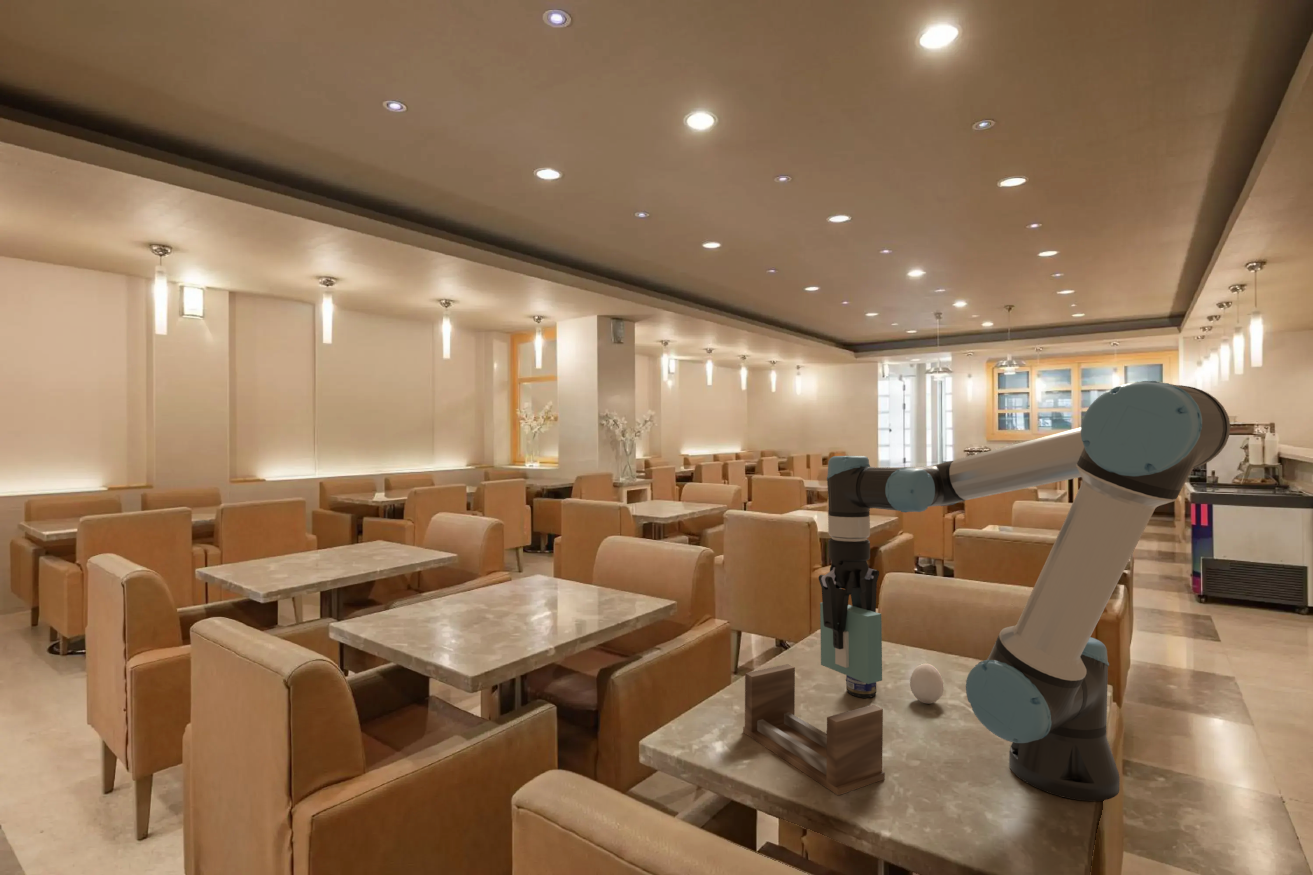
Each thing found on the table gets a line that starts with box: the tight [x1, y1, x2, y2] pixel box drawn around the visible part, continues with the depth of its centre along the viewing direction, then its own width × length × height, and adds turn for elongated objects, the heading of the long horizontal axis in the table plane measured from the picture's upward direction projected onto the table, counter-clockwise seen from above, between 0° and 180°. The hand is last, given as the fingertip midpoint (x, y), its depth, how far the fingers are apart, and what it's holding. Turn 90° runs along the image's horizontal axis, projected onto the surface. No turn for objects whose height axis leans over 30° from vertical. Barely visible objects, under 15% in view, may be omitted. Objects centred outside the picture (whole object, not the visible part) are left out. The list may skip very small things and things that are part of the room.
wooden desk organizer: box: [742, 663, 886, 796], centre depth 114 cm, size 24×10×11 cm, turn 29°
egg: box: [909, 662, 945, 705], centre depth 135 cm, size 6×6×8 cm
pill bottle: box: [845, 675, 877, 699], centre depth 140 cm, size 6×6×11 cm
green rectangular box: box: [819, 602, 883, 684], centre depth 124 cm, size 12×4×12 cm, turn 29°
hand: (850, 663), depth 124 cm, fingers closed on green rectangular box, 3 cm apart
